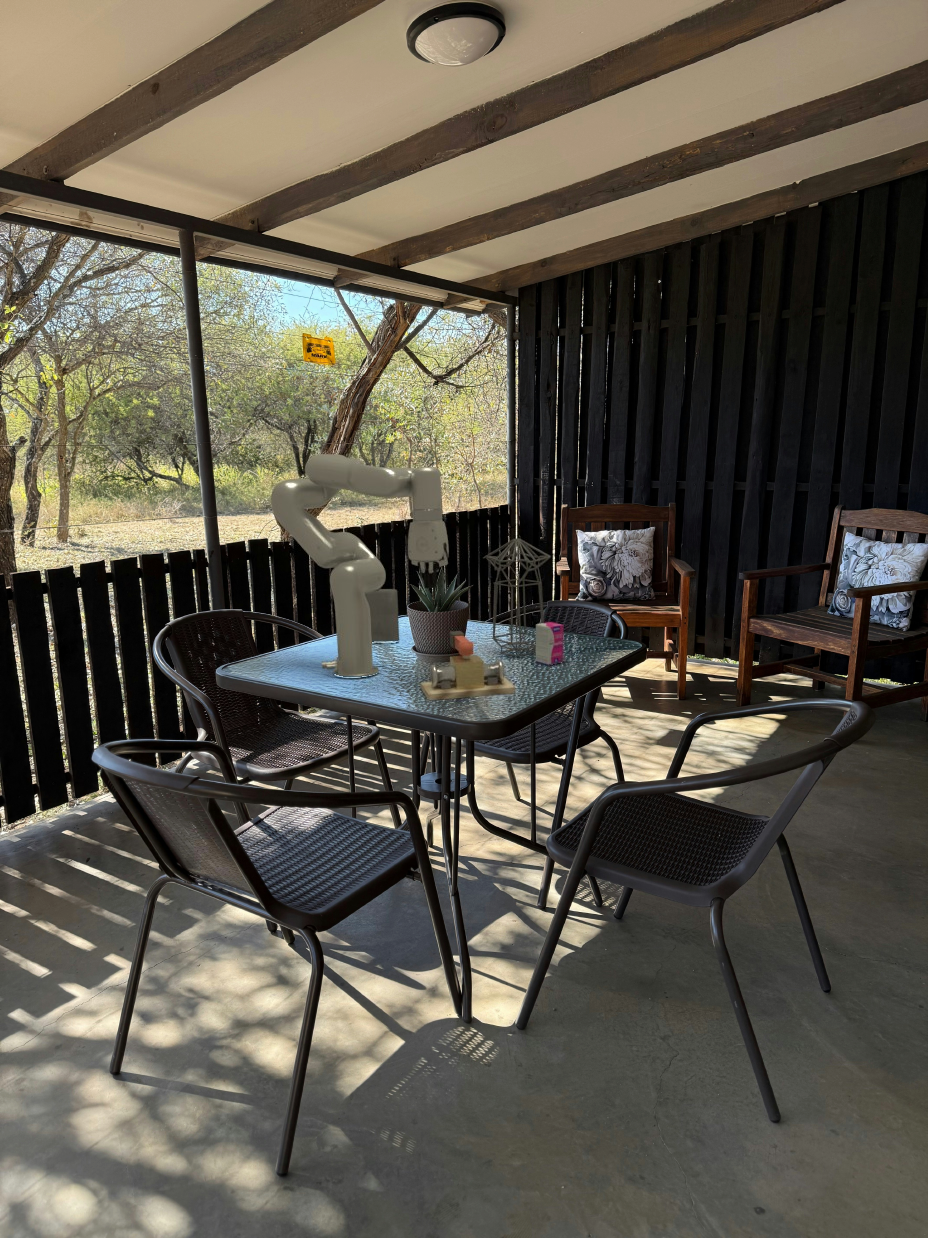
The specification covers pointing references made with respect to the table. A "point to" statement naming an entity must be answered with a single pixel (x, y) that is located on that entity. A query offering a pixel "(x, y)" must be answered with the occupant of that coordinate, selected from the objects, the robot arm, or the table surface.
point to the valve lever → (461, 644)
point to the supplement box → (549, 643)
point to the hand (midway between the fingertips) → (430, 587)
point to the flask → (383, 614)
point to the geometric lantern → (491, 558)
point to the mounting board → (466, 690)
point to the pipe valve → (467, 673)
